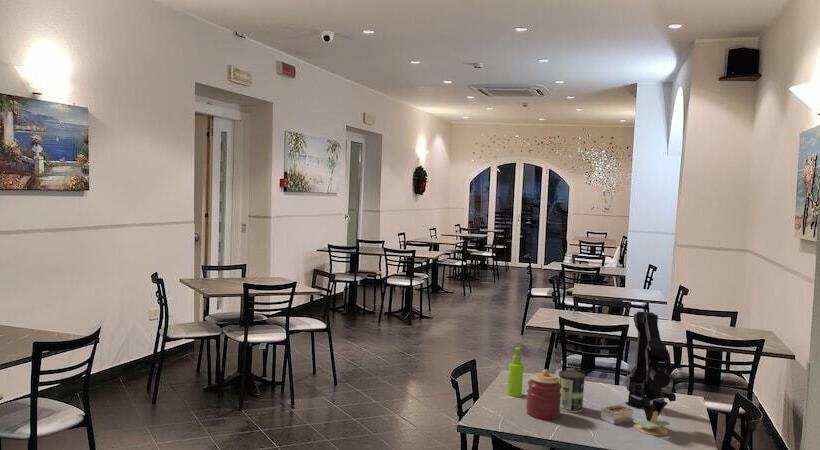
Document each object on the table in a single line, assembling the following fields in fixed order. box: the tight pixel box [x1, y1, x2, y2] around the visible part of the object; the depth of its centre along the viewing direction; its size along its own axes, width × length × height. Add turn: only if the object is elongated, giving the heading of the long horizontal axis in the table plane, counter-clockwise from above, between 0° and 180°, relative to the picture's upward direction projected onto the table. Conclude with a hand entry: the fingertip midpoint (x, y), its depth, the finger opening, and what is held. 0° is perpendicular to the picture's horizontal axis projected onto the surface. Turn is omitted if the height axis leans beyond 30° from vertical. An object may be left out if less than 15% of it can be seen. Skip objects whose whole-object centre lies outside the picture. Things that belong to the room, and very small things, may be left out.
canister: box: [525, 369, 562, 420], centre depth 247 cm, size 13×13×18 cm
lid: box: [632, 410, 670, 429], centre depth 238 cm, size 11×8×6 cm
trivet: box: [633, 423, 669, 437], centre depth 238 cm, size 12×12×1 cm
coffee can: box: [558, 369, 586, 414], centre depth 256 cm, size 10×10×14 cm
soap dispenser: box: [507, 346, 525, 398], centre depth 270 cm, size 6×7×20 cm
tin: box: [600, 404, 634, 426], centre depth 246 cm, size 10×6×4 cm, turn 120°
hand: (651, 420), depth 238 cm, fingers closed on lid, 3 cm apart
